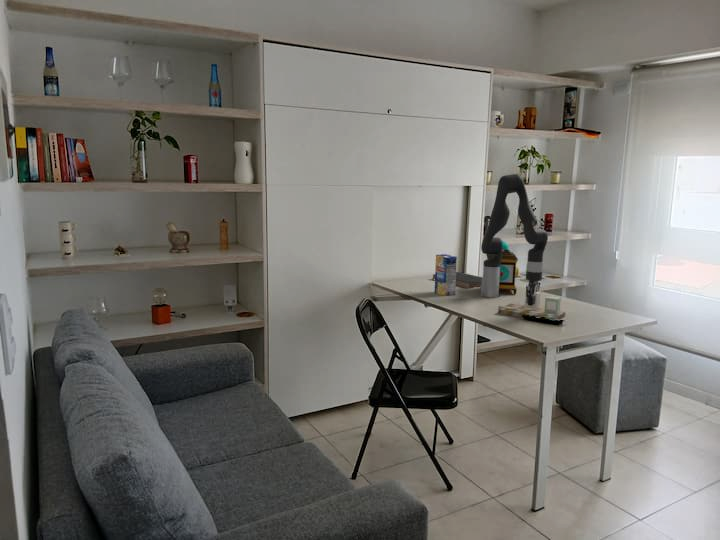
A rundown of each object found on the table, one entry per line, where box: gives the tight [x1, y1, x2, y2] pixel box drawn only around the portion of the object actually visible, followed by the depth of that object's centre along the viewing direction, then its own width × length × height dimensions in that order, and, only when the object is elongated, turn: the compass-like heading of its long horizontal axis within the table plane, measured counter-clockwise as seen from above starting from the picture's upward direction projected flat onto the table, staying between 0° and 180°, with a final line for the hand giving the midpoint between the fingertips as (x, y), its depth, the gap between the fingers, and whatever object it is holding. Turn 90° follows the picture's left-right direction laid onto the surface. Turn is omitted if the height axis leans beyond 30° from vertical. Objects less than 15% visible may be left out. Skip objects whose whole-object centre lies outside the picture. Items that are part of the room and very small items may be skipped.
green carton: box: [544, 295, 562, 316], centre depth 269 cm, size 6×4×8 cm
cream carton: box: [524, 291, 541, 310], centre depth 274 cm, size 6×4×8 cm
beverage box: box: [434, 253, 458, 297], centre depth 318 cm, size 7×11×22 cm, turn 26°
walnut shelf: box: [497, 302, 566, 320], centre depth 275 cm, size 28×16×4 cm, turn 53°
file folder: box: [432, 271, 483, 289], centre depth 355 cm, size 33×4×24 cm
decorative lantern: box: [485, 240, 519, 295], centre depth 326 cm, size 20×20×30 cm
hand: (531, 304), depth 275 cm, fingers closed on cream carton, 4 cm apart
